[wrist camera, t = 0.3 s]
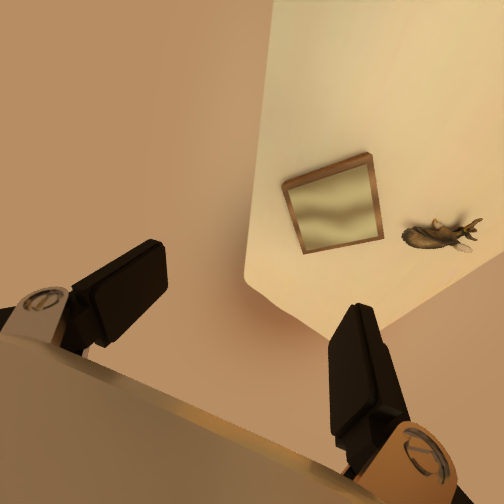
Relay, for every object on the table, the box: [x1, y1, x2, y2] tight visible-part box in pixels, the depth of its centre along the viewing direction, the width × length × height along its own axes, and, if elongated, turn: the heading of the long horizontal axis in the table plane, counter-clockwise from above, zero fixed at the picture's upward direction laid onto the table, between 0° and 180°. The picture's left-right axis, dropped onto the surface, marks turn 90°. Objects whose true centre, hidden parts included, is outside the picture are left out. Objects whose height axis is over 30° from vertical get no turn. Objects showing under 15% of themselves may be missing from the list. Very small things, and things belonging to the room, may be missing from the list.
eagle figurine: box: [401, 218, 483, 253], centre depth 36 cm, size 8×7×9 cm
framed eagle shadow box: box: [281, 152, 384, 255], centre depth 40 cm, size 15×15×5 cm
